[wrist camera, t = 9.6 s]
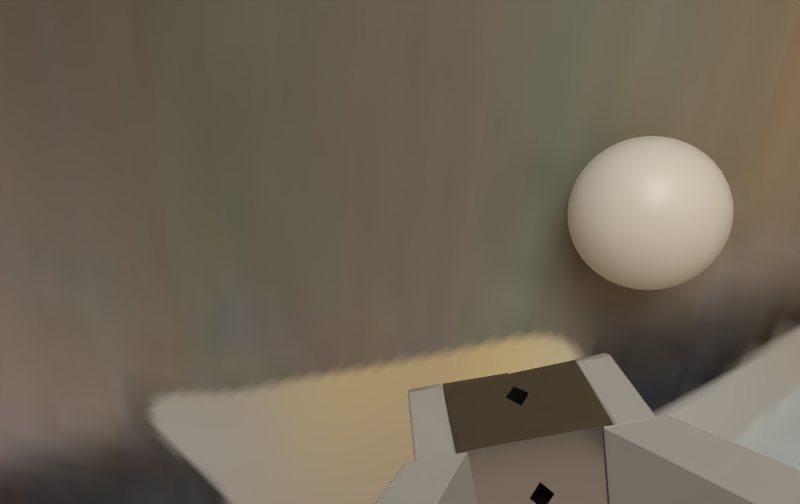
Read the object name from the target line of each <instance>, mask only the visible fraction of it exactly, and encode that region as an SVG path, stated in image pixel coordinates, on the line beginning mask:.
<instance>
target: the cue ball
mask: <svg viewBox="0 0 800 504" xmlns="http://www.w3.org/2000/svg"><path fill="white" fill-rule="evenodd" d="M733 215H734V212H733V199H732V195H731V191H730V188H729V185H728V183H727V181H726V179H725V177H724V175H723V173H722V171H721V170H720V169H719V168H718V166H717V165H716V164H715V163H714V162H713V160H712V159H710V158H709V157H708V156H707V155H706V154H705V153H703V152H702V151H701V150H699V149H697V148H696V147H694V146H692V145H690V144H687V143H685V142H683V141H680V140H677V139H673V138H668V137H660V136H643V137H636V138H632V139H628V140H624V141H622V142H619V143H617V144H614V145H612V146H610V147H609V148H607V149H605V150H604V151H602V152H601V153H600V154H598V155H597V156H596V157H594V158H593V159H592V160H591V161H590V162H589V163H588V164H587V165H586V166H585V168H584V169H583V170H582V172H581V173H580V174H579V176H578V178H577V179H576V181H575V184H574V186H573V188H572V191H571V193H570V197H569V202H568V209H567V221H568V228H569V233H570V236H571V239H572V242H573V244H574V246H575V248H576V250H577V252H578V253H579V255H580V256H581V258H582V259H583V260H584V262H585V263H586V264H587V265H588V266H589V267H590V268H591V269H592V270H594V271H595V272H596V273H597V274H599V275H600V276H602V277H603V278H605V279H607V280H609V281H611V282H613V283H615V284H618V285H621V286H623V287H627V288H632V289H640V290H658V289H665V288H669V287H673V286H676V285H679V284H682V283H684V282H686V281H688V280H690V279H692V278H694V277H696V276H697V275H699V274H700V273H702V272H703V271H704V270H705V269H707V268H708V267H709V266H710V265H711V264H712V263H713V262H714V261H715V260H716V258H717V257H718V256H719V254H720V253H721V251H722V250H723V248H724V246H725V244H726V242H727V240H728V237H729V235H730V232H731V229H732V222H733Z"/></svg>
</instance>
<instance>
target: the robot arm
mask: <svg viewBox="0 0 800 504" xmlns="http://www.w3.org/2000/svg"><path fill="white" fill-rule="evenodd" d="M443 390H444V392H443ZM444 396H445V397H444ZM408 401H409V412H410V422H411V431H412V442H413V452H414V462H409V463H405V464H404V465H403V466H402V468H401V469H400V470H399V472H398V473H397V474H396V476H395V477H394V478H393V480H392V481H391V482H390V484H389V485H388V487H387V488H386V489H385V491H384V492H383V493H382V495H381V496H380V498H379V499H378V500H377V501H376V503H375V504H800V471H799V470H797V469H794V468H792V467H790V466H787V465H785V464H782V463H780V462H778V461H775V460H773V459H770V458H768V457H766V456H763V455H761V454H758V453H756V452H754V451H751V450H749V449H746V448H744V447H742V446H739V445H737V444H734V443H732V442H730V441H727V440H725V439H722V438H720V437H718V436H715V435H713V434H710V433H708V432H705V431H703V430H701V429H698V428H696V427H694V426H691V425H689V424H686V423H684V422H682V421H679V420H677V419H674V418H672V417H670V416H667V415H666V416H660V417H656V416H655V415H654V413H653V412H652V411H651V409H650V408H649V407H648V405H647V404H646V403H645V401H644V400H643V399H642V397H641V396H640V395H639V393H638V392H637V391H636V389H635V388H634V386H633V385H632V384H631V382H630V381H629V380H628V378H627V377H626V376H625V374H624V373H623V372H622V370H621V369H620V368H619V366H618V365H617V364H616V362H615V361H614V360H613V358H612V357H611V356H610V355H608V354H606V353H602V354H598V355H593V356H589V357H584V358H580V359H576V360H572V361H568V362H564V363H559V364H554V365H550V366H545V367H540V368H535V369H530V370H525V371H520V372H515V373H511V374H508V373H506V374H499V375H493V376H488V377H481V378H475V379H469V380H463V381H457V382H451V383H445V384H443V388H442V386H441V385H440V384H438V385H433V386H428V387H423V388H417V389H412V390H409V393H408ZM445 401H446V402H445Z"/></svg>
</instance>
